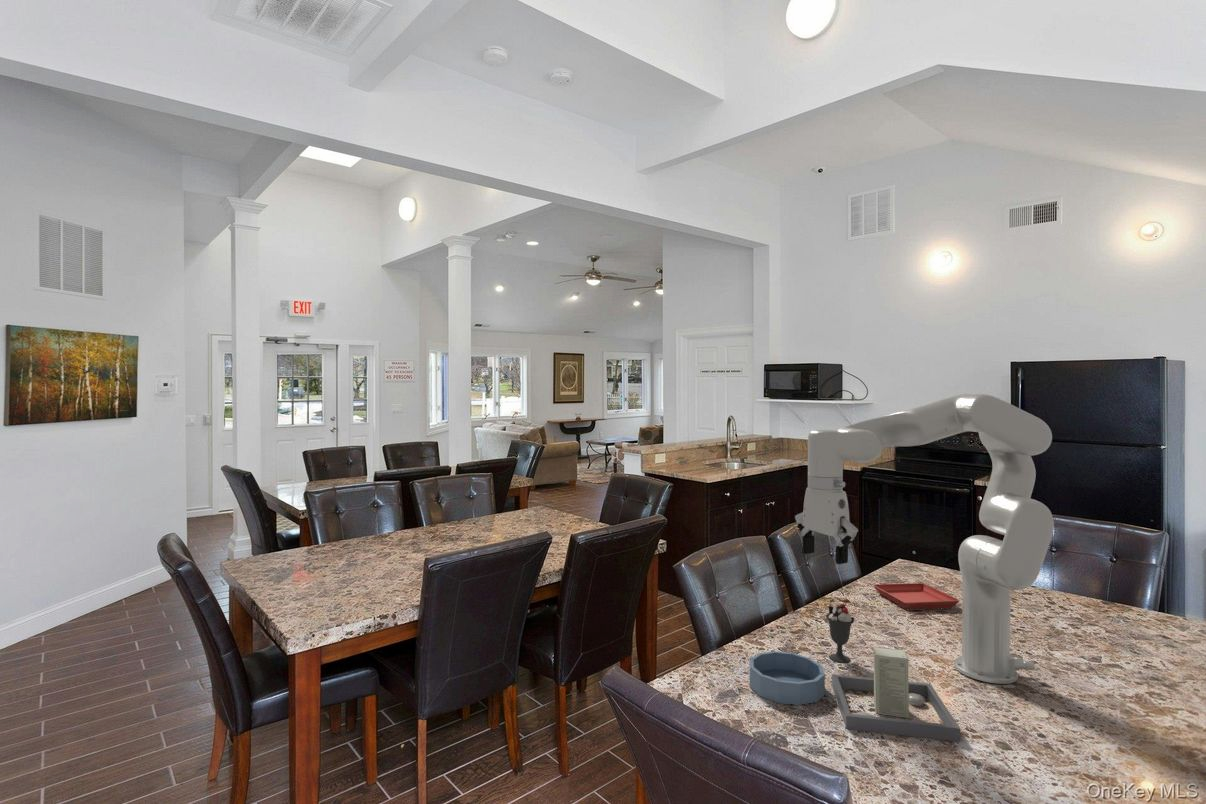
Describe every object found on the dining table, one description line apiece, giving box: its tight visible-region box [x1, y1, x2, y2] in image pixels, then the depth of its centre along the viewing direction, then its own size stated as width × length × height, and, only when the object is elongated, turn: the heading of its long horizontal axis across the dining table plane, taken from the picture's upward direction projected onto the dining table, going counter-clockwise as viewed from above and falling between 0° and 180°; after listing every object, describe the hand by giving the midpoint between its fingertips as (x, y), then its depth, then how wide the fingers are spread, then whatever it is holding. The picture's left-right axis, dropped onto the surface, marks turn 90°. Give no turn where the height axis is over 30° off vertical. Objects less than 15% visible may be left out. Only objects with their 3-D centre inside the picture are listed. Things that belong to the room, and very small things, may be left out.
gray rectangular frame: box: [831, 673, 962, 743], centre depth 124 cm, size 20×18×2 cm
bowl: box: [749, 650, 826, 706], centre depth 134 cm, size 16×16×4 cm
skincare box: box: [873, 646, 910, 719], centre depth 123 cm, size 6×4×12 cm
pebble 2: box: [909, 693, 925, 708], centre depth 127 cm, size 3×3×1 cm
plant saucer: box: [872, 582, 961, 611], centre depth 191 cm, size 18×18×3 cm
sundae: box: [825, 598, 856, 664], centre depth 148 cm, size 7×7×15 cm
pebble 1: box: [855, 711, 873, 716], centre depth 119 cm, size 3×3×1 cm
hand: (824, 558), depth 139 cm, fingers open, 9 cm apart
